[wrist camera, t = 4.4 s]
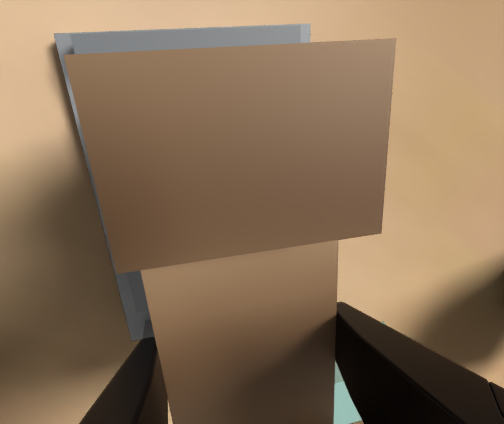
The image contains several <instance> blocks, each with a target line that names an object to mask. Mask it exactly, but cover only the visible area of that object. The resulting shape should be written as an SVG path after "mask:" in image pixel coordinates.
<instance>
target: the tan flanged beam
mask: <svg viewBox="0 0 504 424" xmlns="http://www.w3.org/2000/svg"><path fill="white" fill-rule="evenodd" d="M395 45H396V38H393V39H373V40H353V41H333V42H312V43H292V44H272V45H252V46H232V47H212V48H191V49H171V50H151V51H131V52H111V53H91V54H71V55H64V59H65V63H66V67H67V72H68V76H69V80H70V84H71V88H72V92H73V96H74V100H75V104H76V109H77V113H78V117H79V121H80V125H81V129H82V133H83V137H84V142H85V146H86V150H87V154H88V158H89V162H90V166H91V170H92V174H93V179H94V183H95V187H96V191H97V195H98V199H99V203H100V207H101V212H102V216H103V220H104V224H105V228H106V232H107V236H108V240H109V244H110V249H111V253H112V257H113V261H114V265H115V269H116V273H117V274H120V273H126V272H133V271H140V270H141V275H142V280H143V285H144V289H145V294H146V299H147V303H148V308H149V313H150V317H151V322H152V327H153V331H154V336H155V341H156V346H157V350H158V353H159V358H160V362H161V367H162V372H163V377H164V381H165V386H166V391H167V396H168V402H169V407H170V411H171V416H172V421H173V424H334V390H335V340H336V313H337V274H338V240H341V239H348V238H354V237H361V236H367V235H374V234H380V233H381V231H382V218H383V204H384V191H385V178H386V165H387V151H388V138H389V125H390V112H391V98H392V85H393V72H394V59H395Z"/></svg>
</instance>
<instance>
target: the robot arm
mask: <svg viewBox="0 0 504 424" xmlns="http://www.w3.org/2000/svg"><path fill="white" fill-rule="evenodd" d="M335 361H336V363H337V366H338V368H339V371H340V373H341V376H342V378H343V381H344V383H345V386H346V388H347V390H348V393H349V395H350V397H351V400H352V402H353V404H354V406H355V408H356V409H357V411H358V413H359V415H360V417H361V419H362V421H363V423H364V424H504V388H502V387H500V386H498V385H496V384H494V383H493V382H489V383H488V381H487V379H485V378H483V377H481V376H479V375H478V374H476V373H474V372H472V371H470V370H468V369H466V368H465V367H463V366H461V365H459V364H457V363H455V362H453V361H452V360H450V359H448V358H446V357H444V356H442V355H441V354H439V353H437V352H435V351H433V350H431V349H429V348H428V347H426V346H424V345H422V344H420V343H418V342H416V341H415V340H413V339H411V338H409V337H407V336H405V335H403V334H402V333H400V332H398V331H396V330H394V329H392V328H391V327H389V326H387V325H385V324H383V323H381V322H379V321H378V320H376V319H374V318H372V317H370V316H368V315H366V314H365V313H363V312H361V311H359V310H357V309H355V308H353V307H352V306H350V305H348V304H346V303H344V302H337V313H336V340H335ZM79 424H168V396H167V391H166V386H165V381H164V377H163V372H162V367H161V362H160V358H159V353H158V350H157V346H156V341H155V336H153V337H148V338H143V339H142V340H140V342H139V343H138V344H137V346H136V347H135V348H134V350H133V351H132V353H131V354H130V355H129V357H128V358H127V359H126V361H125V362H124V363H123V365H122V366H121V367H120V369H119V370H118V372H117V373H116V374H115V376H114V377H113V378H112V380H111V381H110V382H109V384H108V385H107V386H106V388H105V389H104V390H103V392H102V393H101V395H100V396H99V397H98V399H97V400H96V401H95V403H94V404H93V405H92V407H91V408H90V409H89V411H88V412H87V414H86V415H85V416H84V418H83V419H82V420H81V422H80V423H79Z"/></svg>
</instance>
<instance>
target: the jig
mask: <svg viewBox="0 0 504 424" xmlns="http://www.w3.org/2000/svg"><path fill="white" fill-rule="evenodd" d="M54 37H55V41H56V45H57V49H58V53H59V57H60V61H61V65H62V69H63V73H64V77H65V81H66V85H67V88H68V92H69V96H70V100H71V104H72V108H73V112H74V116H75V120H76V124H77V128H78V132H79V136H80V140H81V144H82V148H83V151H84V155H85V159H86V163H87V167H88V171H89V175H90V179H91V183H92V187H93V191H94V195H95V199H96V203H97V207H98V211H99V214H100V218H101V222H102V226H103V230H104V234H105V238H106V242H107V246H108V250H109V254H110V258H111V262H112V266H113V270H114V273H115V277H116V281H117V285H118V289H119V293H120V297H121V301H122V305H123V309H124V313H125V317H126V321H127V325H128V329H129V333H130V336H131V340H132V341H135V340H140V339H143V338H148V337H153V336H154V331H153V327H152V322H151V317H150V313H149V308H148V303H147V299H146V294H145V289H144V285H143V280H142V275H141V270H140V271H133V272H126V273H120V274H117V273H116V269H115V265H114V261H113V257H112V253H111V249H110V244H109V240H108V236H107V232H106V228H105V224H104V220H103V216H102V212H101V207H100V203H99V199H98V195H97V191H96V187H95V183H94V179H93V174H92V170H91V166H90V162H89V158H88V154H87V150H86V146H85V142H84V137H83V133H82V129H81V125H80V121H79V117H78V113H77V109H76V104H75V100H74V96H73V92H72V88H71V84H70V80H69V76H68V72H67V67H66V63H65V59H64V55H71V54H91V53H111V52H131V51H151V50H171V49H191V48H212V47H232V46H252V45H272V44H292V43H310V24H288V25H262V26H237V27H211V28H185V29H159V30H133V31H108V32H82V33H56V34H54Z"/></svg>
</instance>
